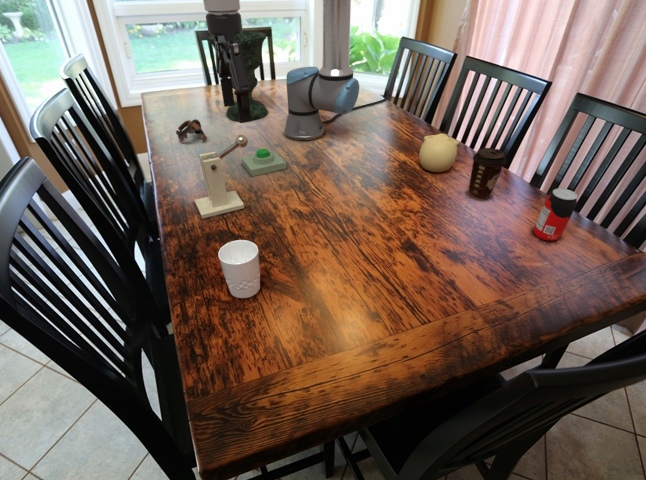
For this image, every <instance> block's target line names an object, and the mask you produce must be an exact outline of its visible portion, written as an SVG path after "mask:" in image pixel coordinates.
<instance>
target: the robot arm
mask: <svg viewBox="0 0 646 480" xmlns="http://www.w3.org/2000/svg"><path fill="white" fill-rule="evenodd" d="M202 2H203V7H204V11H205V12H207V13H206V14H205V20H206V27H207V32H208V34H209V35H214V41H215V49H214V50H215V51H214V52H215V53H214V54H215V69H216V70H215V72H216V74H217V75H218V77H219V82H220V89H221V94H222V101H223V107H226V108H227V107H229V106H233V105H235V102H236V101H237V107H238V114H239V121H238V122H239V123H240V124H243V123H250V122H251V123H252V120H251V113H250V105H249V97H248V93H249V92H251V88H250V84H249V80H248V75H247V71H246V67H245V63H244V58H243V54H242V46H241V43H240V42H238V43H236V40H235V35H236V34H240V33H242V31H243V30H244V29H243V22H242V15H241V14H240V12H239V11H240V10H241V2H240V0H202ZM351 7H352V0H322V66H321V68H319V67H317V66H303V67H302V66H301V67H297V68H294V69H291V70H289V71H288V72H287V73H286V84H285V85H286V95H287V110H288V114H287V118H286V123H285V127H284V135H285V137H286V138H288V139H290V140H294V141H300V142H302V141H314V140H317V139H320V138H321V137H323V136H324V133H325V127H324V124H329V123H331V122H333V121H334V120H336V118H338V117H340V116H341V115H346V114H349V113H350V112H351V111H353V110H357V109H361V108H366V107H370V106H374V105H378V104H380V103H383V102H385V101H387V100H388V99H389V98H390V97H391V93H387V95H386V97H385V98H383V99H380V100H377V101H373V102H370V103H365V104H363V105H357V106H355V105H356V103H357V101H358V98H359V93H360V83H359V80H358V79H357V78H355V77H354V69H353V68H352V67H351V66H350V48H351V47H350V45H351V43H350V42H351V41H350V40H351V12H352V11H351V9H352V8H351ZM230 71H231V72H230ZM230 77H232V78H233V81H234V84H235V88H236V91H235V90H234V89H233V88H232V81H231V78H230ZM242 86H243V87H242ZM235 99H236V101H235ZM320 111H323V112H329V113H334V114H335V115H334V116H333V117H332V118H330V119H328V120H322V118H321V114H320Z"/></svg>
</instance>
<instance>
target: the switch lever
mask: <svg viewBox="0 0 646 480" xmlns="http://www.w3.org/2000/svg"><path fill="white" fill-rule="evenodd" d="M248 143H249V140H248V137H247V136H246V135H245V134H238V135H237V136H236V137H235V142H234V143H233V144H231V145H230V146H228V147H227V148H225V149H224V150H223V151H220V152H219V153H218V154H217V156H215V157H214V158H218V157H219V158H220V160H222V159H223V158H225V157H226V156H227V155H229V154H230V153H232V152H233V151H234V150H236V149H237V148H245V147H247V145H248ZM208 159H213V156H212V155H211V156H209V157H208V158H207V159H205V160H208Z"/></svg>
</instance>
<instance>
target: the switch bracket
mask: <svg viewBox="0 0 646 480" xmlns="http://www.w3.org/2000/svg"><path fill="white" fill-rule="evenodd" d="M211 155H212V156H213V159H208V160H205V159H207V158H208V157H209V156H211ZM217 155H218V154H217V151H211V152H205V153H201V154H198V157H199V162H200V165H201V170H202V174H203V175H202V176H203V179H204V183H205V189H206V192H207V196H205V197H200V198H196V199H194V204H195V206H196V208H197V211H198V213H199V215H200V218H201V219H202V220H203V219H207V218H211V217H215V216H218V215H219V216H220V215H222V214H227V213H231V212H234V211H235V212H236V211H238V210H242V209H243V210H244V209H246V208H245V207H246V206H245V204H244V202H243V201H242V199H241V197H240V196H239V194H238V193H237V191H236V190H230V191H227V187H226V182H225V177H224V171H223V166H222V159H220V158H219V157H218V158H214V157H215V156H217Z"/></svg>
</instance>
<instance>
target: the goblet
mask: <svg viewBox="0 0 646 480" xmlns="http://www.w3.org/2000/svg"><path fill="white" fill-rule="evenodd" d="M266 39H267V34H266V33H264V32H262V31H257V30H249V29H247V30H246V29H245V30H244V29H243V31H242V33H240V34H236V35H235V40H236V43H238V42H240V43H241V46H242V54H243V58H244V63H245V67H246V71H247V75H248V80H249V84H250V88H251V92H249V93H248V97H249V105H250V113H251V121H253V120H258V119H261V118H264V116H266V115H267V114H268V109H267V107H266V105H265V104H263V102H261V101H260V100H257V99H254V97H253V91H254V89H255V88H256V87H257V85H258V83H259V82H258V81H259V80H258V78H257V77H256V76H255V71H256V70H257V69H258V68H259V67H260V66H261V65H262V62H263V58H262V50H263V45H264V42H265V40H266ZM207 42H208V43H209V44H211V45H212V47H213V48H214V50H215V41H214V35H211V34H209V36H207ZM230 72H231V71H230ZM229 78H231V81H232V88H233V91H236V88H235V84H234V81H233V78H232V77H229ZM242 87H243V86H242ZM227 107H228V108H227V110H226V117H227V118H228V119H230V120H232V121H234V122H240V121H239V114H238V107H237V100H236V101H235V105H233V106H227Z"/></svg>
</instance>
